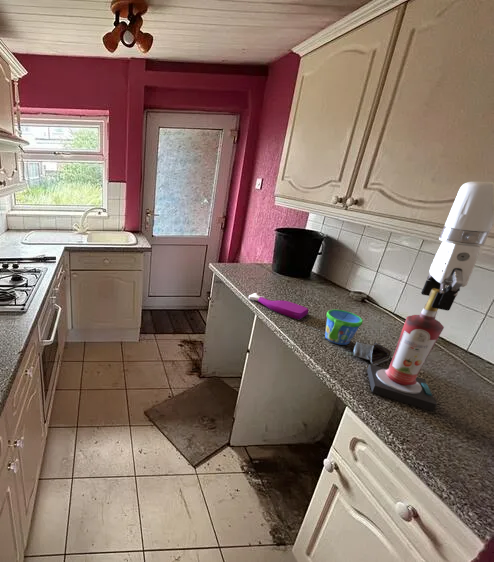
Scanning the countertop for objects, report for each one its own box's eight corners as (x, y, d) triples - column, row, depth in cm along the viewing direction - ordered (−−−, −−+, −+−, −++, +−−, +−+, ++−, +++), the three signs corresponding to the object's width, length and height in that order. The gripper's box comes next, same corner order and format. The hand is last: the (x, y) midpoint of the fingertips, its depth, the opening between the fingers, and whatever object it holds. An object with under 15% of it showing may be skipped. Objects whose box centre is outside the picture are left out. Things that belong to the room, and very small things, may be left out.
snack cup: (343, 354, 106) (352, 328, 102) (311, 339, 114) (318, 315, 110) (361, 340, 114) (370, 316, 110) (330, 328, 122) (338, 305, 118)
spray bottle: (298, 321, 127) (243, 301, 145) (309, 314, 133) (256, 295, 151) (299, 314, 126) (244, 295, 144) (311, 308, 132) (257, 290, 150)
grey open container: (369, 348, 111) (355, 328, 106) (393, 353, 104) (379, 333, 100) (358, 370, 108) (343, 352, 104) (382, 377, 102) (367, 358, 98)
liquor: (417, 380, 89) (459, 291, 79) (414, 392, 84) (459, 299, 74) (384, 368, 94) (420, 283, 83) (380, 379, 89) (418, 289, 79)
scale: (421, 386, 91) (425, 377, 90) (433, 411, 82) (437, 402, 81) (366, 370, 98) (370, 362, 97) (371, 392, 88) (375, 384, 87)
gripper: (502, 246, 65) (466, 319, 71) (470, 232, 79) (443, 294, 85) (453, 241, 68) (423, 310, 75) (431, 228, 82) (407, 288, 88)
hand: (434, 301), depth 80 cm, fingers open, 9 cm apart
